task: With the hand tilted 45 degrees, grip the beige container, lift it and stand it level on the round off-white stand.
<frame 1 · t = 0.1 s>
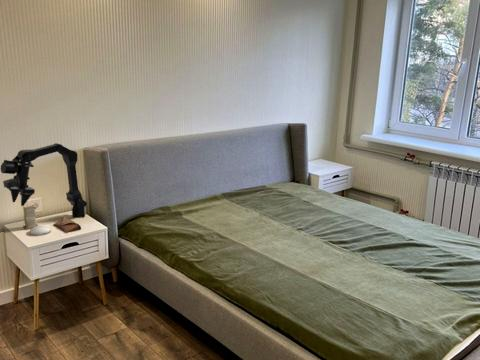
hand: (17, 204, 240), 15 cm above the nightstand, tool pointing down, fingers open, 9 cm apart
beige container: (30, 227, 250), on the nightstand
stand: (41, 232, 244), on the nightstand
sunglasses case: (66, 228, 252), on the nightstand
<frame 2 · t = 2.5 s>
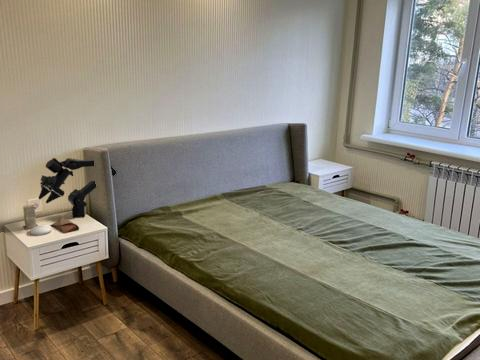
hand: (42, 201, 252), 13 cm above the nightstand, tool tilted 45°, fingers open, 9 cm apart
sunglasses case: (64, 228, 251), on the nightstand
everything else where it was.
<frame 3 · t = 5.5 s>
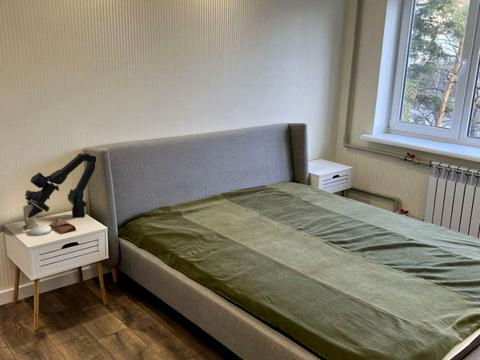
hand: (27, 216, 248), 7 cm above the nightstand, tool tilted 45°, fingers closed on beige container, 4 cm apart
beige container: (30, 227, 250), on the nightstand, touching gripper
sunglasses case: (61, 229, 250), on the nightstand
when the fingers open (10 cm above the nightstand, at t = 8.7 s): beige container drops 1 cm, resting on stand.
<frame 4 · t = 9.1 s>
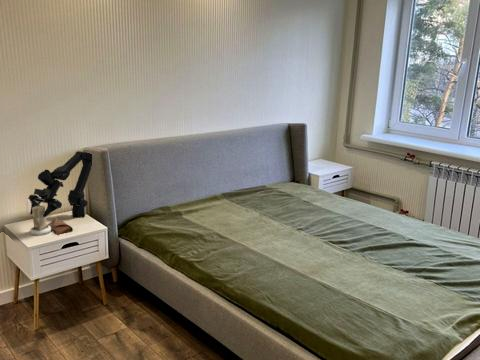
hand: (37, 215, 240), 10 cm above the nightstand, tool tilted 45°, fingers open, 9 cm apart
beige container: (40, 228, 244), point 2 cm above the nightstand, touching stand
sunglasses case: (58, 230, 249), on the nightstand
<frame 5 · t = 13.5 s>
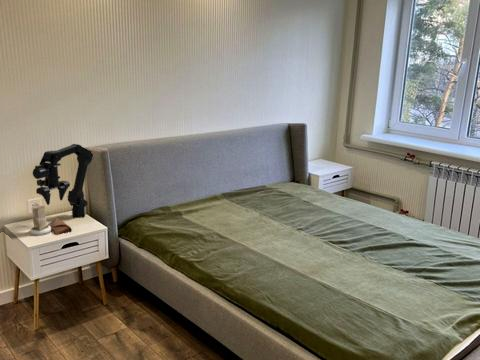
hand: (54, 202, 251), 13 cm above the nightstand, tool pointing down, fingers open, 9 cm apart
nothing on the nightstand moved.
at the end: beige container 0.2 cm off-centre on the stand, point 2.0 cm above the stand's base; beige container tilted 0°; the gripper is holding nothing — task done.
